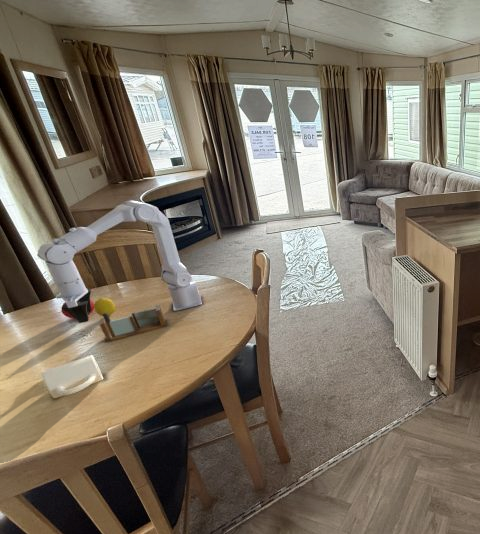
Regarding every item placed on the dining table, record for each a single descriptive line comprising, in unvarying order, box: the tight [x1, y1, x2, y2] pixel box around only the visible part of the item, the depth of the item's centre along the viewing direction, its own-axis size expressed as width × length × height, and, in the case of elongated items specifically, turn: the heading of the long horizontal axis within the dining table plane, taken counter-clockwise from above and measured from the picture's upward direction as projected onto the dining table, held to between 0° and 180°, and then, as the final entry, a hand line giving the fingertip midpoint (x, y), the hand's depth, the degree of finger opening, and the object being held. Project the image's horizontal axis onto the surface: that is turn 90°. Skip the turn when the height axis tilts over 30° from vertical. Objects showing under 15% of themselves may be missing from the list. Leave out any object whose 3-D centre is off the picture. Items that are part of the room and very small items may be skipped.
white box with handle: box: [41, 354, 104, 399], centre depth 94 cm, size 12×10×8 cm
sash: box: [102, 313, 138, 337], centre depth 117 cm, size 7×1×9 cm, turn 128°
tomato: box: [60, 299, 95, 319], centre depth 128 cm, size 9×9×8 cm
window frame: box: [99, 305, 166, 342], centre depth 121 cm, size 16×4×7 cm, turn 128°
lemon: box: [94, 297, 116, 318], centre depth 128 cm, size 6×6×8 cm
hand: (85, 316), depth 111 cm, fingers open, 7 cm apart
